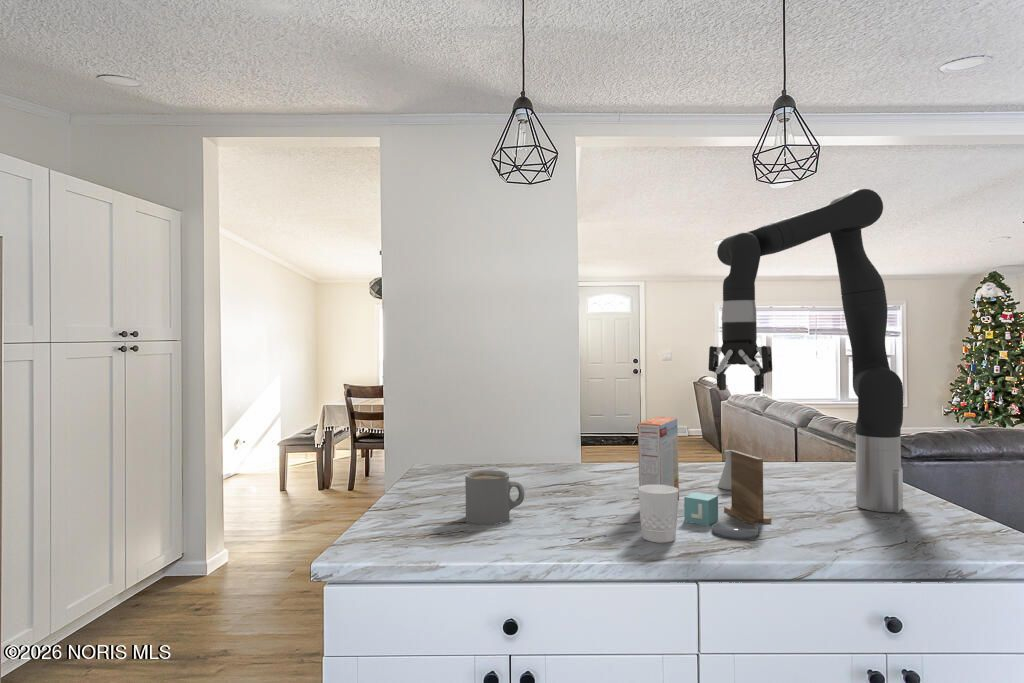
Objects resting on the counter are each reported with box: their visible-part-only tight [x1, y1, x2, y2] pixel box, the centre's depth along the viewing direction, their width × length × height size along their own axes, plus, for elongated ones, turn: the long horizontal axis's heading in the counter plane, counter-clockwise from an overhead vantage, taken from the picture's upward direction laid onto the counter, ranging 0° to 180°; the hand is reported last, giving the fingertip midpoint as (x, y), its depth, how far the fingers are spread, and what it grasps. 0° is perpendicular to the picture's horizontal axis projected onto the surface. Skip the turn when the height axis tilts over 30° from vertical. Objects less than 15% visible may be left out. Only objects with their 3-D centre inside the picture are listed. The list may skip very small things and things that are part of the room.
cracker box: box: [637, 416, 680, 502], centre depth 154 cm, size 14×6×21 cm, turn 149°
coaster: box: [711, 521, 759, 540], centre depth 132 cm, size 9×9×1 cm
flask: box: [717, 449, 735, 491], centre depth 172 cm, size 7×7×10 cm
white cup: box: [638, 485, 679, 544], centre depth 129 cm, size 8×8×10 cm
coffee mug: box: [464, 469, 525, 525], centre depth 145 cm, size 13×10×10 cm
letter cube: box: [683, 491, 719, 527], centre depth 141 cm, size 6×6×6 cm
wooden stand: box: [723, 450, 772, 525], centre depth 144 cm, size 5×11×14 cm, turn 11°
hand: (739, 390), depth 147 cm, fingers open, 8 cm apart
